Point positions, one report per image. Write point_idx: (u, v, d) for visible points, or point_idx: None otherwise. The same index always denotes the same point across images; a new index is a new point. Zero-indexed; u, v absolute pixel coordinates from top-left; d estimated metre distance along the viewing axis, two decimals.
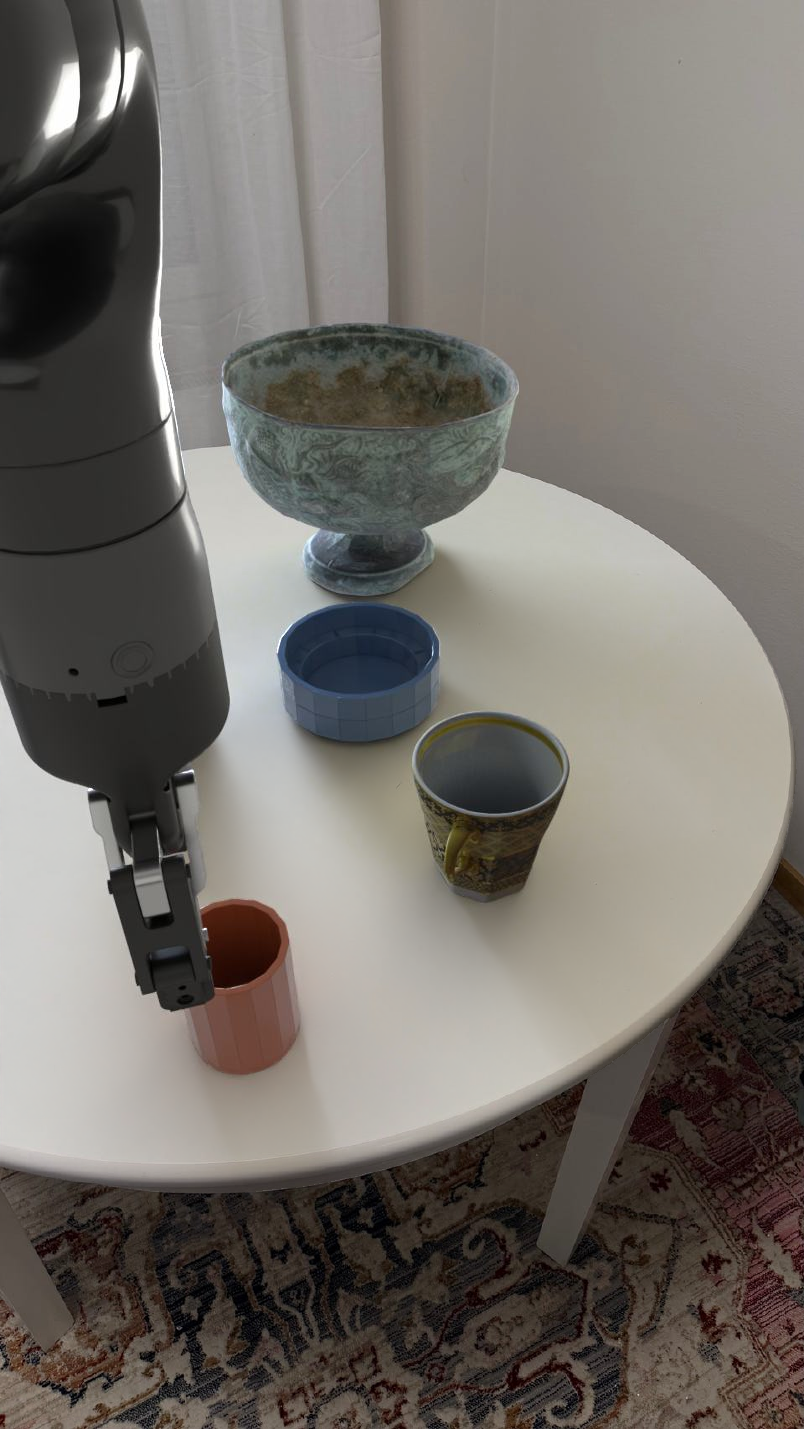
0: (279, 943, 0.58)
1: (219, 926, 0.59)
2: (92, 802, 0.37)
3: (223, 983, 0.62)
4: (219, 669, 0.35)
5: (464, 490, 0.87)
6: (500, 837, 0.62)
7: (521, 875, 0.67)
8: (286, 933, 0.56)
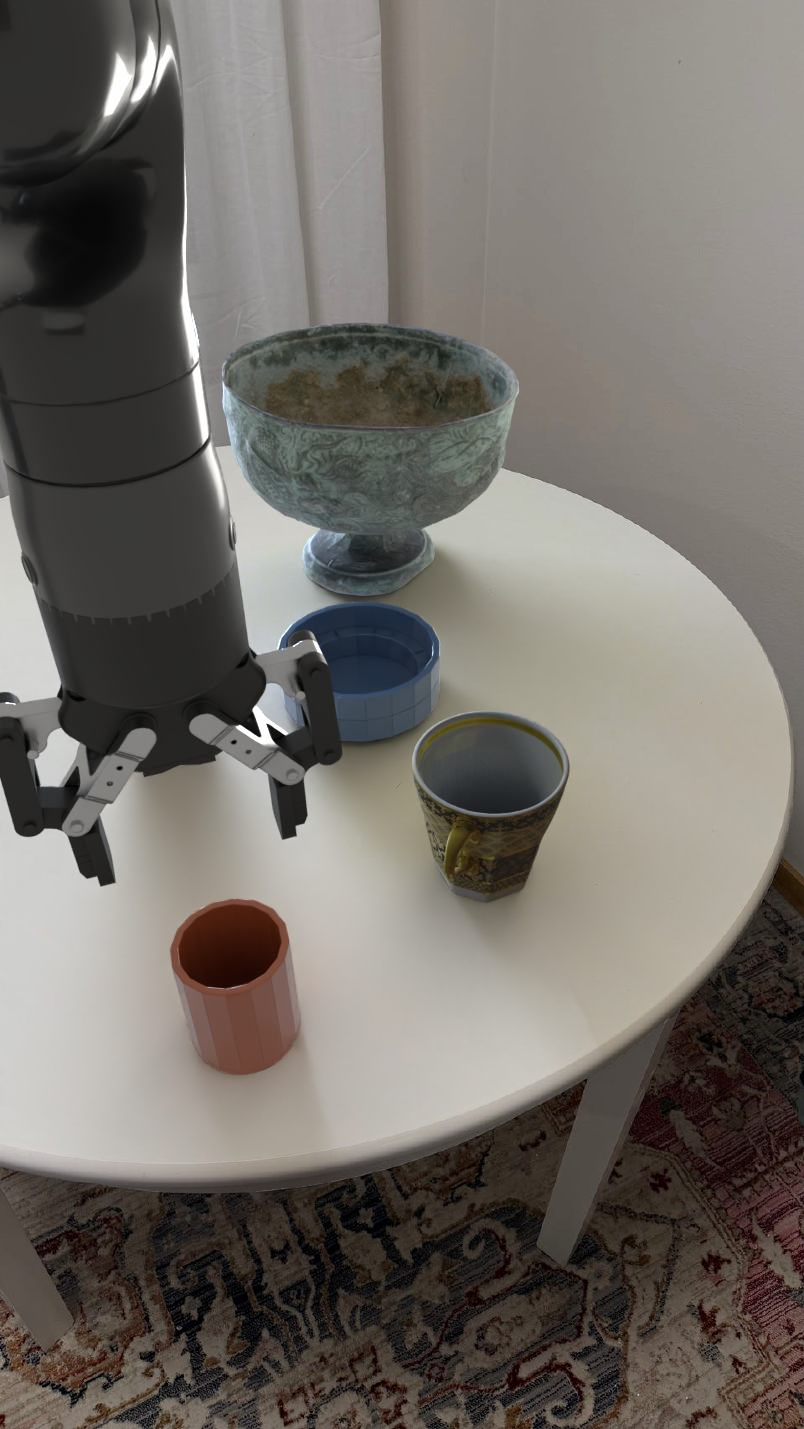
0: (279, 943, 0.58)
1: (219, 926, 0.59)
2: None
3: (223, 983, 0.62)
4: (119, 658, 0.36)
5: (464, 490, 0.87)
6: (500, 837, 0.62)
7: (521, 875, 0.67)
8: (286, 933, 0.56)
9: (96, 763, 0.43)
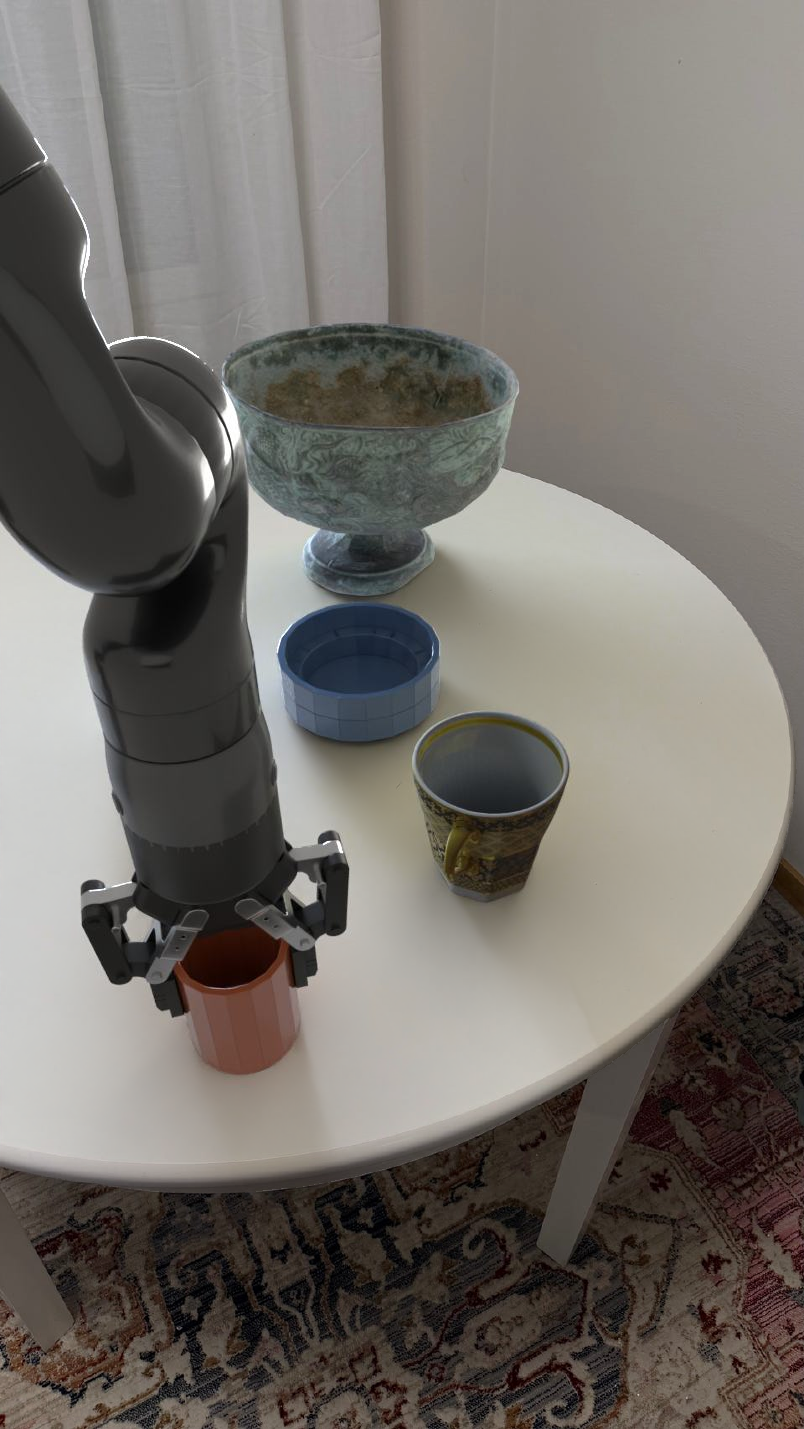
0: (279, 943, 0.58)
1: None
2: None
3: (223, 983, 0.62)
4: (183, 872, 0.46)
5: (464, 490, 0.87)
6: (500, 837, 0.62)
7: (521, 875, 0.67)
8: None
9: (168, 926, 0.54)
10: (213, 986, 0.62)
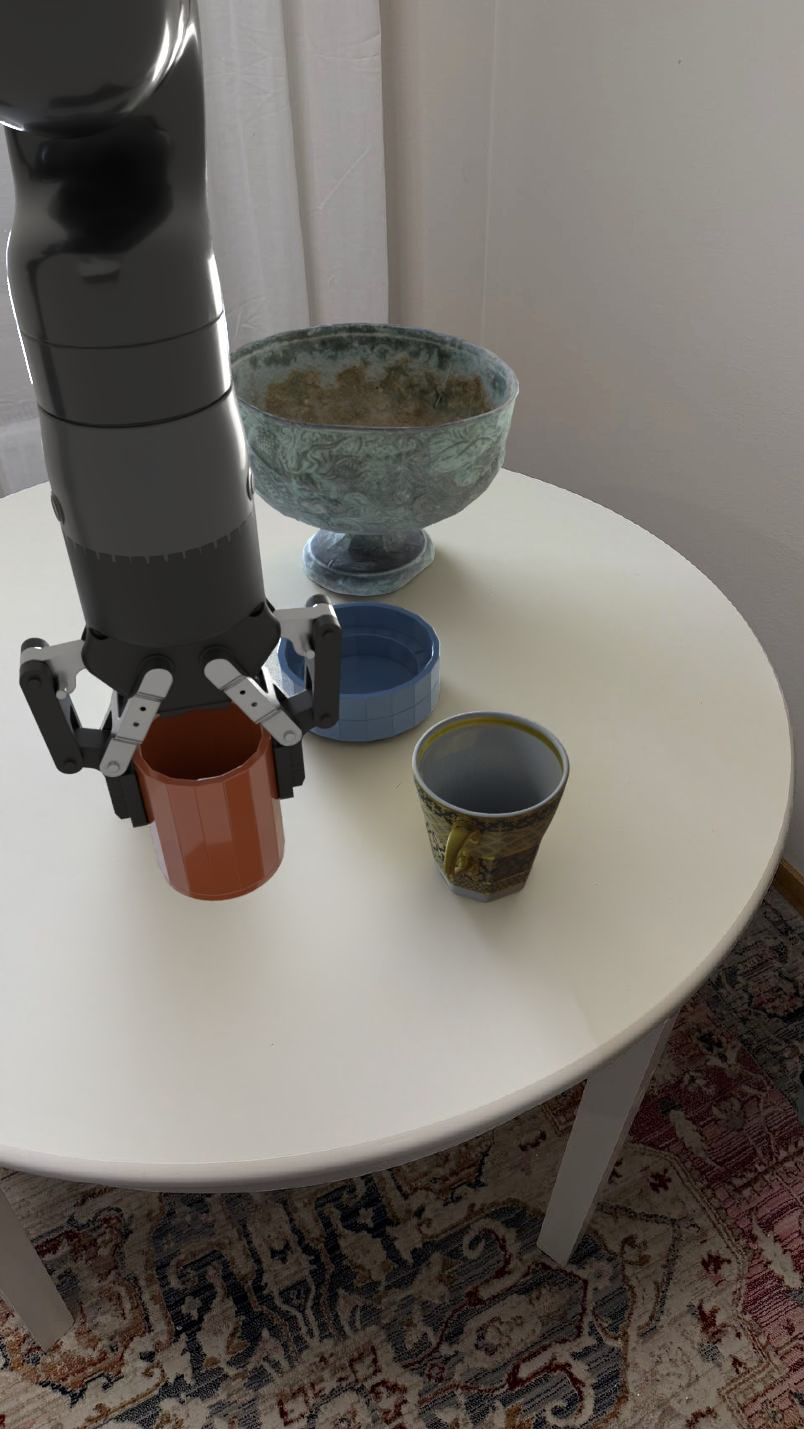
0: None
1: (191, 729, 0.50)
2: None
3: None
4: (137, 596, 0.38)
5: (464, 490, 0.87)
6: (500, 837, 0.62)
7: (521, 875, 0.67)
8: None
9: None
10: None
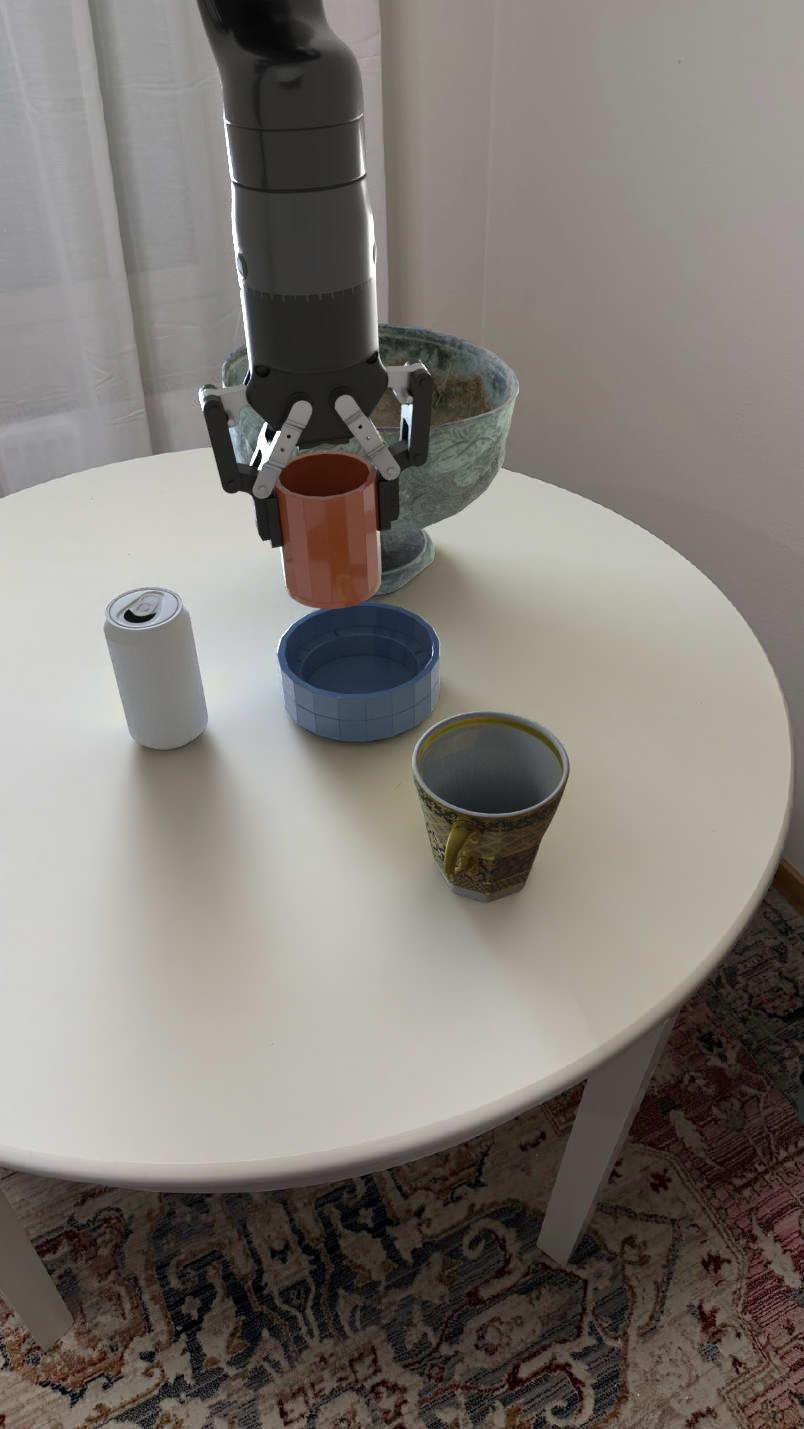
0: None
1: (311, 480, 0.66)
2: None
3: None
4: (297, 328, 0.53)
5: (464, 490, 0.87)
6: (500, 837, 0.62)
7: (521, 875, 0.67)
8: (373, 468, 0.63)
9: (272, 443, 0.61)
10: None
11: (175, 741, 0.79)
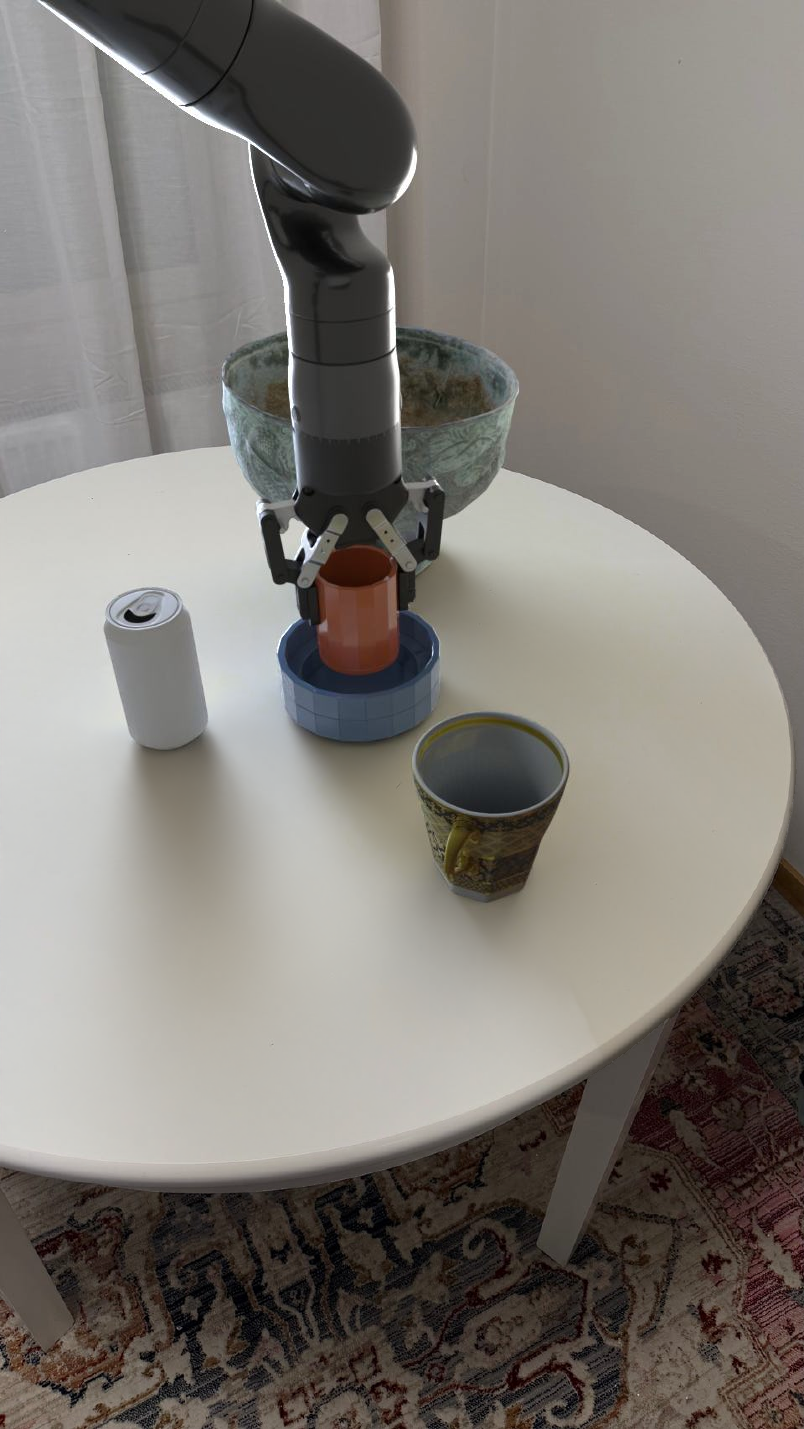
0: None
1: (342, 568, 0.80)
2: None
3: None
4: (340, 463, 0.67)
5: (464, 490, 0.87)
6: (500, 837, 0.62)
7: (521, 875, 0.67)
8: (395, 561, 0.77)
9: (313, 543, 0.75)
10: None
11: (175, 741, 0.79)
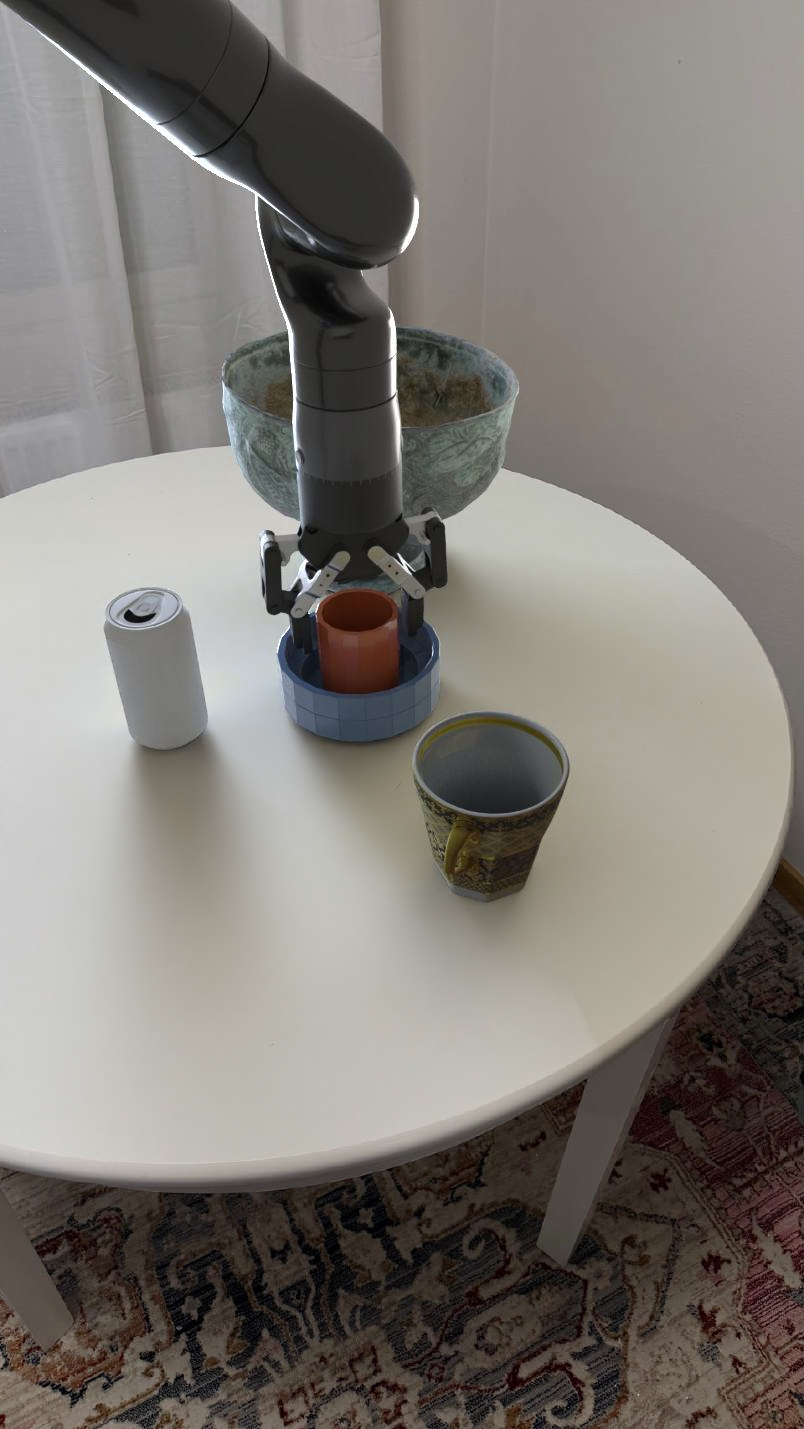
0: (389, 619, 0.82)
1: (345, 610, 0.82)
2: None
3: None
4: (342, 504, 0.69)
5: (464, 490, 0.87)
6: (500, 837, 0.62)
7: (521, 875, 0.67)
8: (396, 605, 0.80)
9: (311, 576, 0.76)
10: None
11: (175, 741, 0.79)
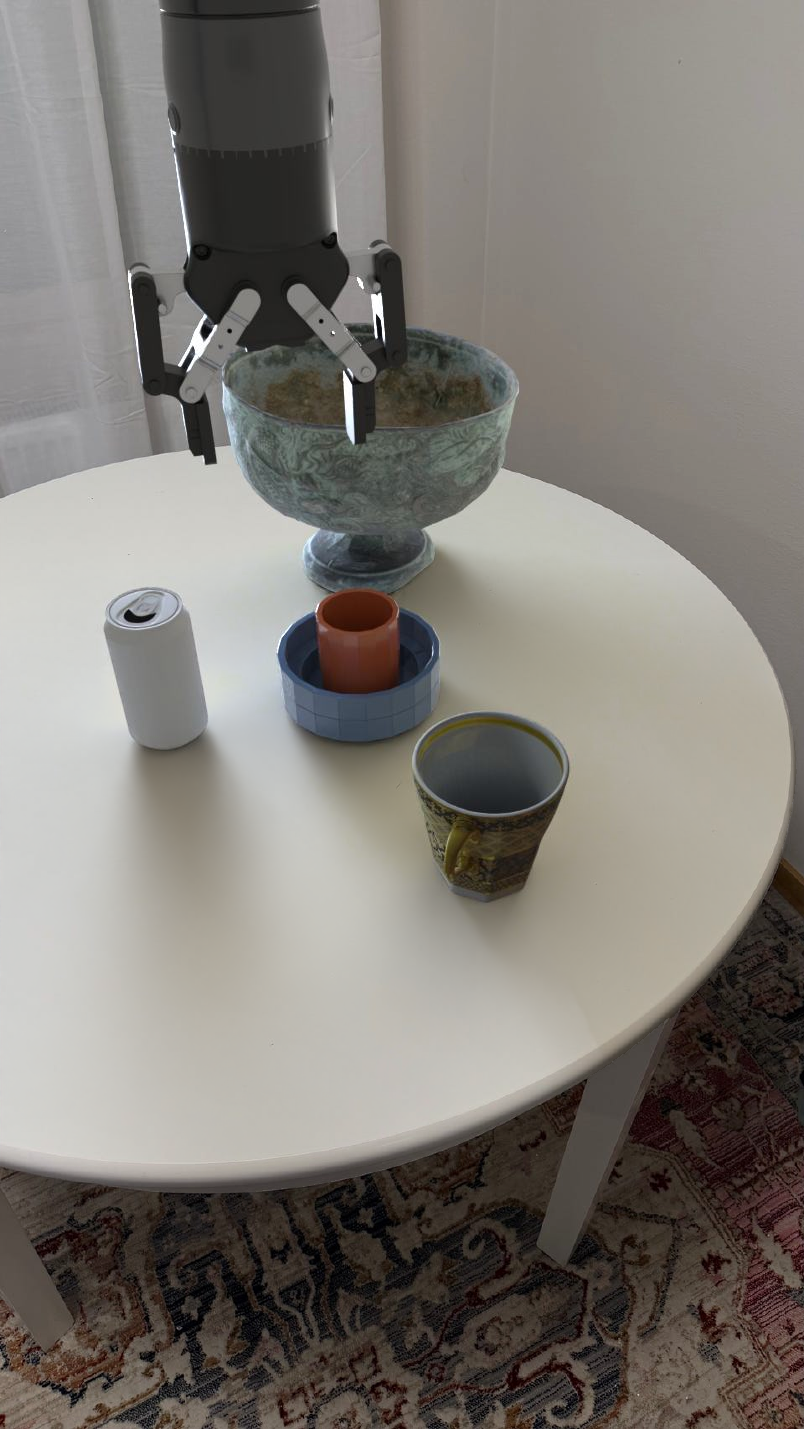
0: (389, 619, 0.82)
1: (345, 610, 0.82)
2: None
3: None
4: (240, 193, 0.46)
5: (464, 490, 0.87)
6: (500, 837, 0.62)
7: (521, 875, 0.67)
8: (396, 605, 0.80)
9: None
10: None
11: (175, 741, 0.79)
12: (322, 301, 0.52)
